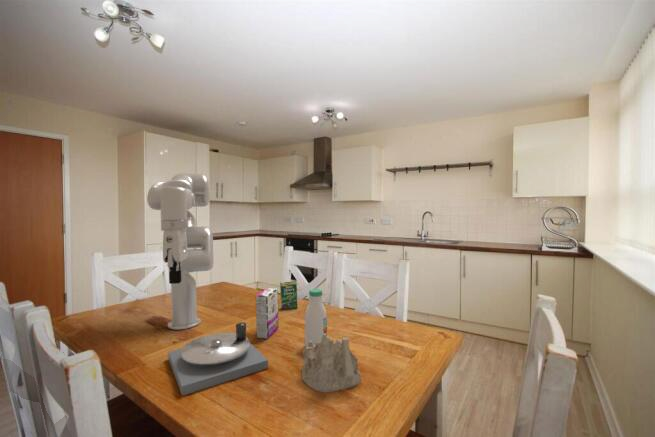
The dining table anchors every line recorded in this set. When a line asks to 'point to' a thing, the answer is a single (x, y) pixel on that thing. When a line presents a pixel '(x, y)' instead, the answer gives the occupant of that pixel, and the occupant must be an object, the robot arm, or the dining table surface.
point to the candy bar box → (267, 312)
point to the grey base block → (214, 370)
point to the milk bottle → (315, 318)
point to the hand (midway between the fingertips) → (175, 282)
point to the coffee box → (288, 295)
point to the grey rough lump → (330, 365)
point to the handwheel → (216, 347)
